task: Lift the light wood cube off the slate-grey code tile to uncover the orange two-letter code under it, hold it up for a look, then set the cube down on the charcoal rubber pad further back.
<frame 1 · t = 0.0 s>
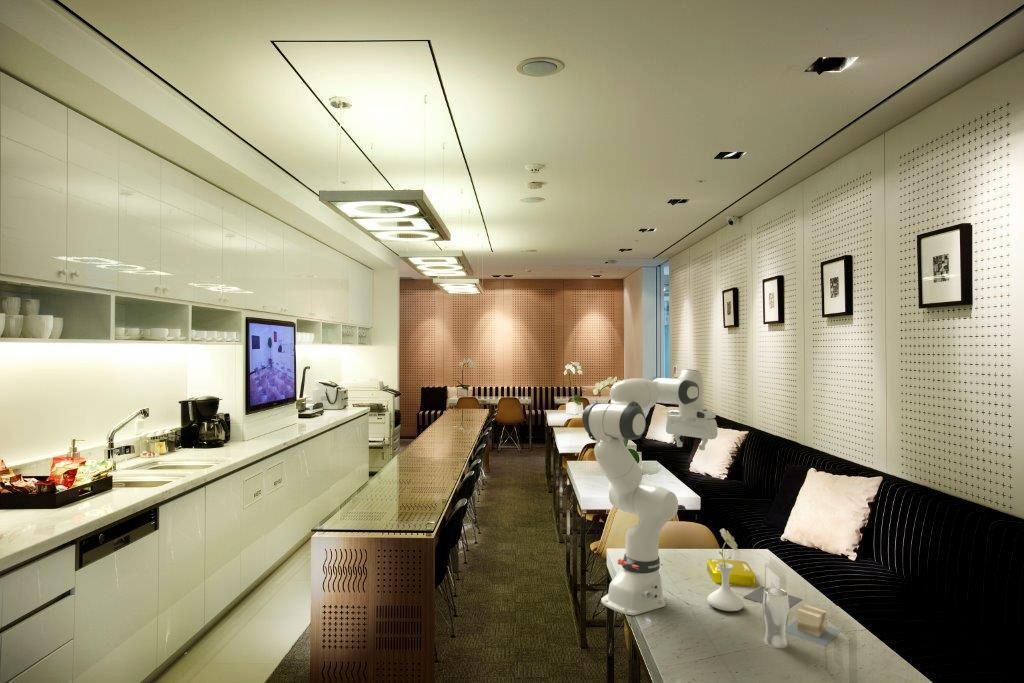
hand: (690, 448, 218), 48 cm above the table, fingers open, 8 cm apart
code tile: (811, 631, 175), on the table
flower in vase: (724, 606, 191), on the table
element tile: (730, 578, 216), on the table
light wood cube: (811, 630, 175), resting on code tile
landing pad: (772, 598, 197), on the table
beer glass: (775, 644, 167), on the table
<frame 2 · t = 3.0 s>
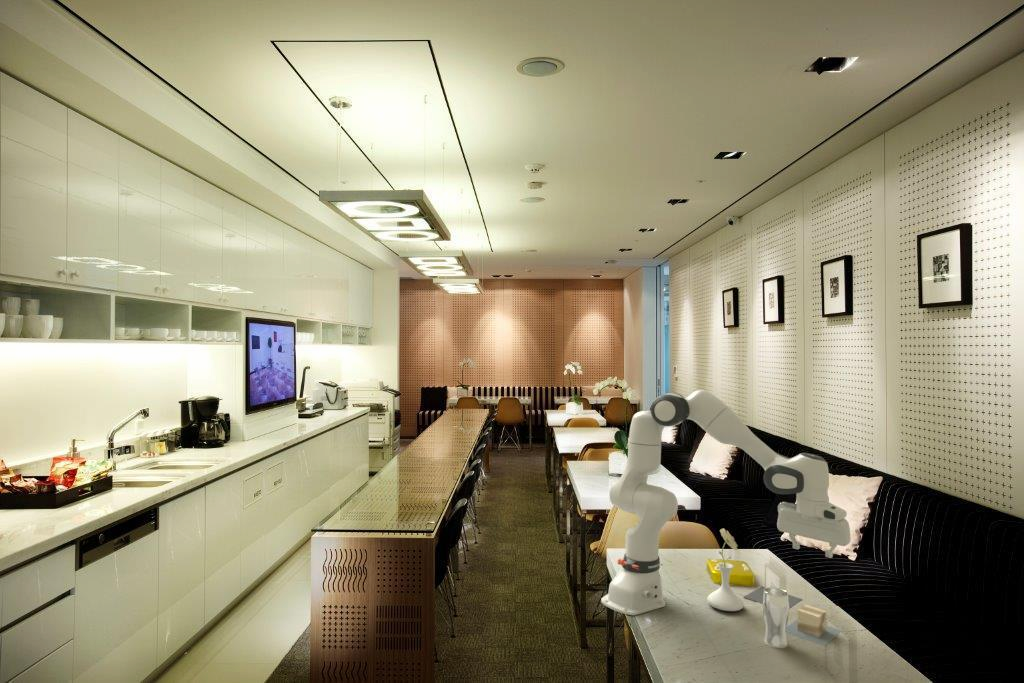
hand: (812, 552, 175), 24 cm above the table, fingers open, 8 cm apart
nothing on the table moved.
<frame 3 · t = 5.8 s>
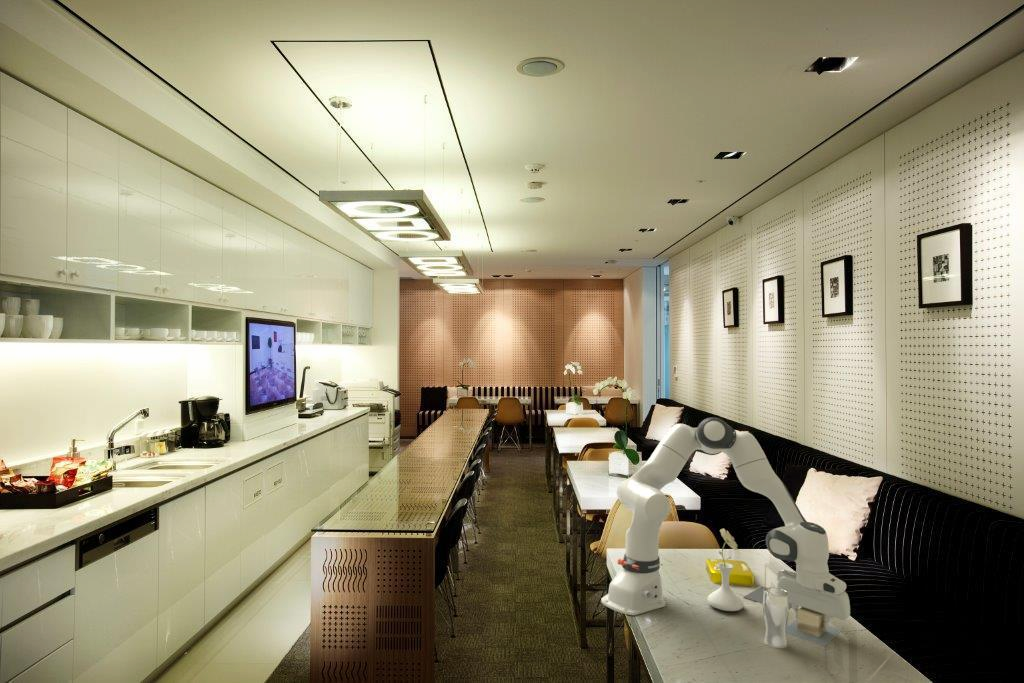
hand: (811, 623, 175), 2 cm above the table, fingers closed on light wood cube, 6 cm apart
light wood cube: (811, 630, 175), resting on code tile, touching gripper
everything else where it was.
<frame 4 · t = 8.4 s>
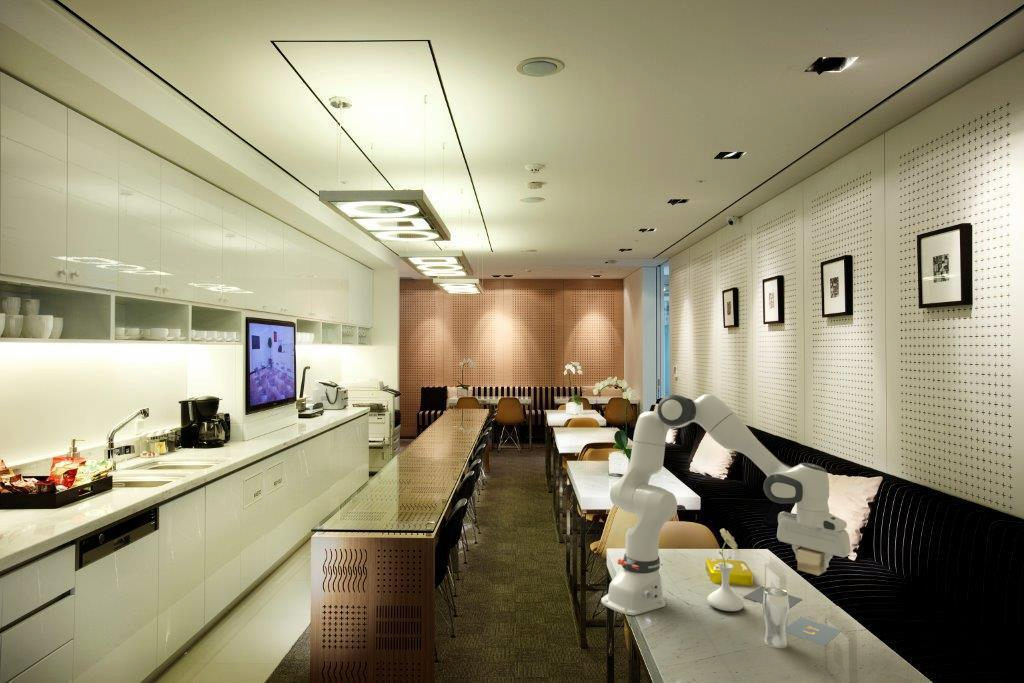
hand: (811, 563, 175), 21 cm above the table, fingers closed on light wood cube, 6 cm apart
light wood cube: (811, 570, 175), point 19 cm above the table, touching gripper
everything else where it was.
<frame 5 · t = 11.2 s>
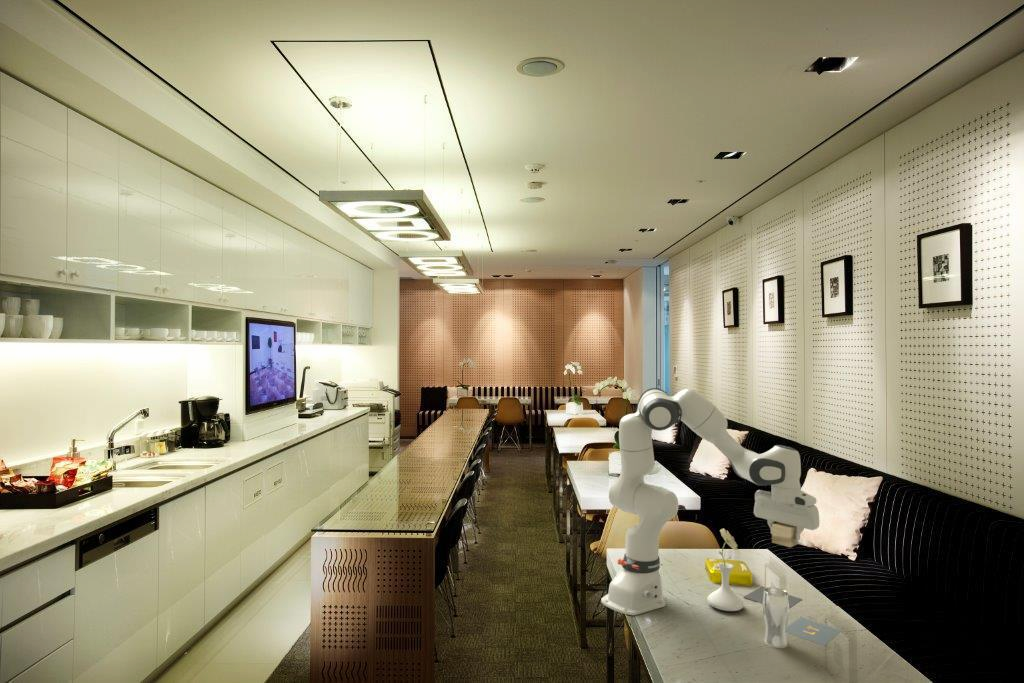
hand: (785, 536, 190), 24 cm above the table, fingers closed on light wood cube, 6 cm apart
light wood cube: (785, 543, 190), point 22 cm above the table, touching gripper
everything else where it was.
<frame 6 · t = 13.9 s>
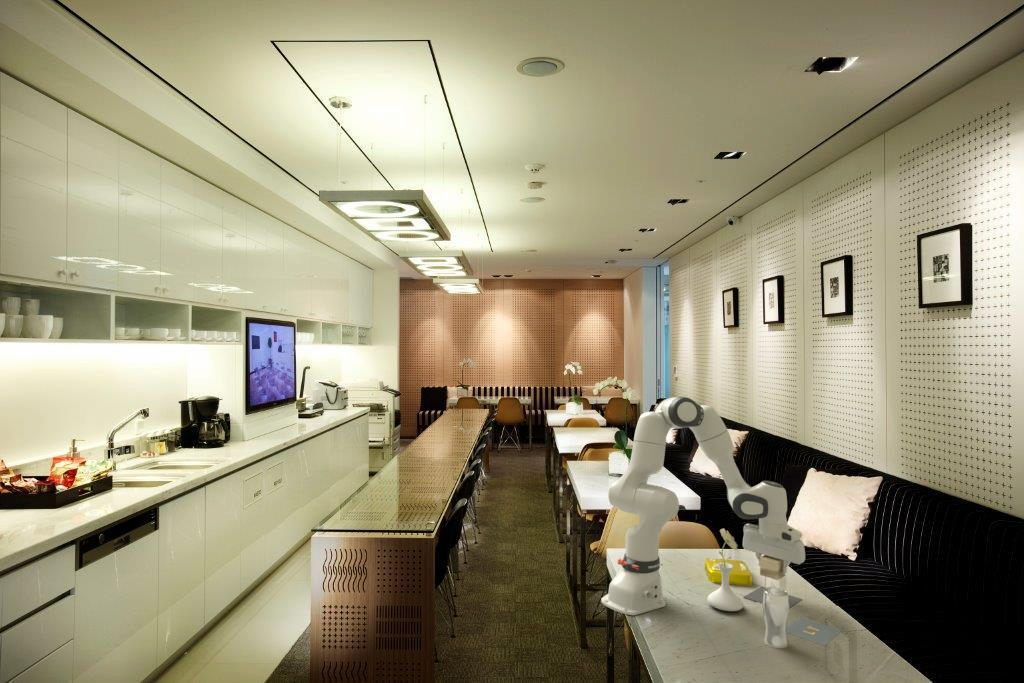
hand: (772, 569, 198), 10 cm above the table, fingers closed on light wood cube, 6 cm apart
light wood cube: (772, 575, 198), point 8 cm above the table, touching gripper
when the fingers open (4 cm above the table, at t = 16.6 s): light wood cube drops 1 cm, resting on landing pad.
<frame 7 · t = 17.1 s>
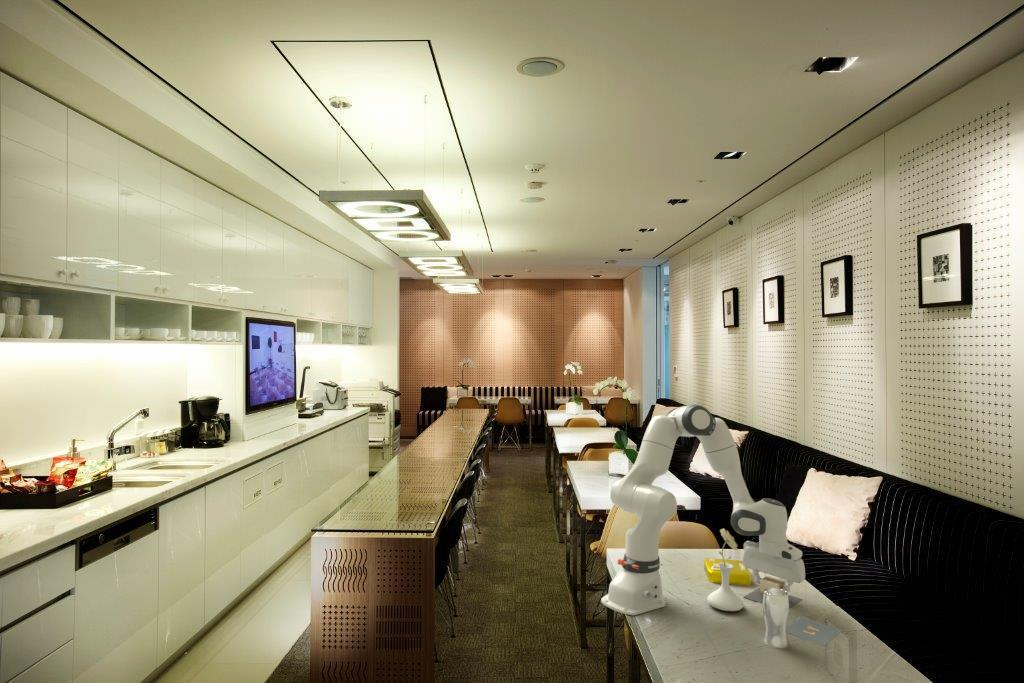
hand: (772, 587, 198), 4 cm above the table, fingers open, 8 cm apart
light wood cube: (772, 597, 198), resting on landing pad
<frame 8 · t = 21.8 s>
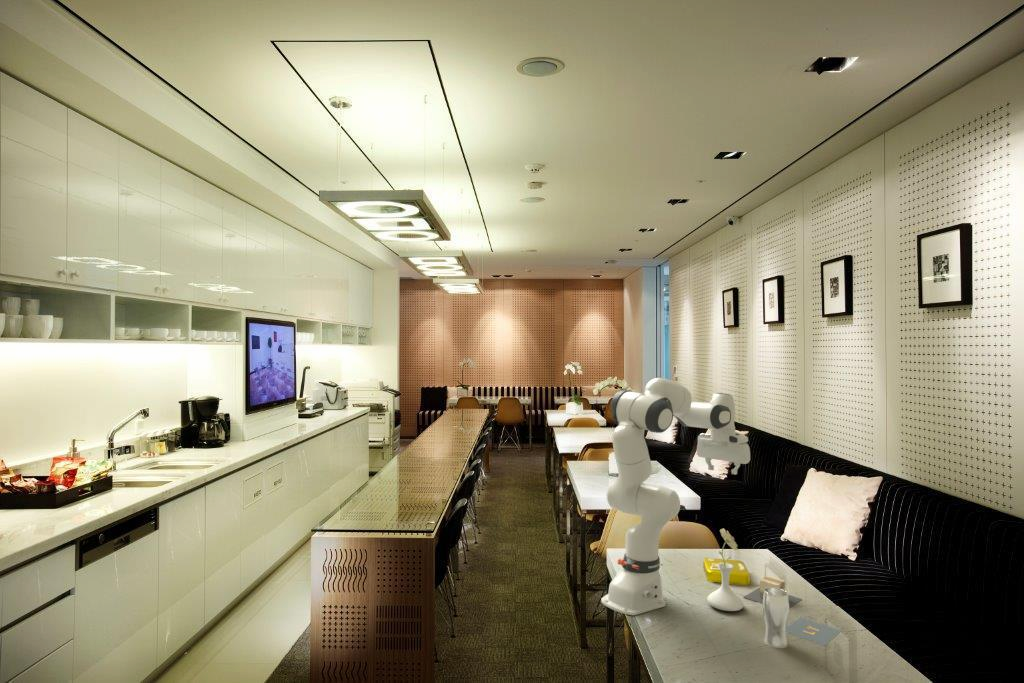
hand: (722, 472, 218), 39 cm above the table, fingers open, 8 cm apart
at the end: light wood cube inside the target area (0.1 cm from its centre), resting on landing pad; light wood cube tilted 0°; the gripper is holding nothing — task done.
